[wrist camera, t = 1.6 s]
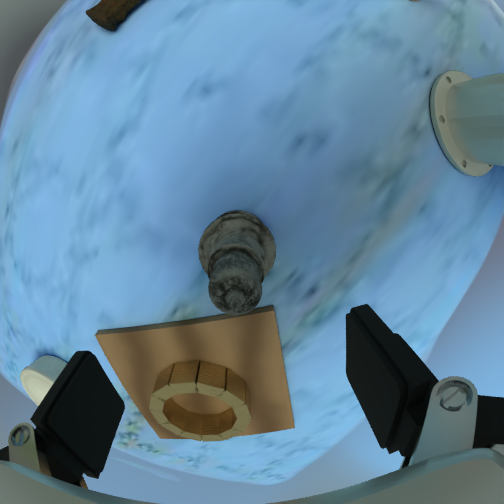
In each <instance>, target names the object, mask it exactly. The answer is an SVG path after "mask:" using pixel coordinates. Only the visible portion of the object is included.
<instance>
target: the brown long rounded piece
mask: <svg viewBox="0 0 504 504" xmlns="http://www.w3.org/2000/svg"><path fill="white" fill-rule="evenodd" d="M140 1H141V0H101V1H100V2H99V3H98V4H97V5H96V6H94V7H93V8H91V9H89V10H87V11H86V14H87V15H88V16H89V17H90V18H91V19H92V21H94V22H95V23H96V24H98V25H99V26H101V27H103V28H105V29H108V30H111V31H115V29H116V25H117V23H118V22H121V21H123V20H125V18H126V14H127V13H128V12H129V11H130V10H131V9H132V8H133V7H135V6H136V5H137V4H138V3H139V2H140Z"/></svg>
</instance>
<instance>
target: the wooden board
mask: <svg viewBox="0 0 504 504" xmlns="http://www.w3.org/2000/svg"><path fill="white" fill-rule="evenodd" d="M95 336H96V338H97V340H98V342H99V344H100V346H101V348H102V350H103V352H104V354H105V355H106V357H107V359H108V361H109V363H110V364H111V366H112V368H113V370H114V371H115V373H116V375H117V376H118V378H119V380H120V381H121V383H122V385H123V386H124V388H125V389H126V391H127V393H128V394H129V396H130V397H131V399H132V400H133V402H134V403H135V405H136V406H137V408H138V409H139V411H140V412H141V413H142V415H143V416H144V418H145V419H146V420H147V422H148V423H149V424H150V426H151V427H152V428H153V430H154V431H155V432H156V434H157V435H158V436H159V437H160V438H161V439H189V438H185V437H181V436H180V435H176V434H174V433H173V432H171V431H169V430H168V429H166V428H164V427H163V426H161V425H160V424H159V423H158V422H157V420H156V419H155V417H154V416H153V415H152V413H151V412H150V409H149V407H150V400H151V394H152V391H153V388H154V385H155V383H156V380H157V377H158V374H159V373H160V372H161V371H163V370H164V369H166V368H167V367H168V366H170V365H171V364H173V363H175V362H183V361H192V360H199V361H200V362H201V360H203V361H207V362H210V363H214V364H218V365H222V366H226V368H229V369H230V370H232V371H233V372H234V373H236V374H237V375H238V376H240V377H241V378H242V379H244V380H245V382H246V384H247V387H248V390H249V394H250V398H251V421H250V423H249V424H248V426H247V427H246V429H245V431H244V432H243V433H241V434H239V435H236V436H245V435H253V434H261V433H268V432H274V431H280V430H286V429H291V428H295V426H294V420H293V414H292V408H291V402H290V396H289V391H288V385H287V379H286V373H285V367H284V362H283V356H282V350H281V345H280V339H279V334H278V328H277V322H276V317H275V311H274V307H273V305H272V306H267V307H262V308H256V309H253V310H251V311H249V312H248V313H245V314H241V315H232V314H222V315H216V316H210V317H204V318H197V319H190V320H183V321H176V322H169V323H161V324H154V325H145V326H137V327H128V328H118V329H108V330H98V332H97V333H96V334H95ZM172 399H173V400H174V402H175V403H177V404H178V405H180V406H181V407H183V408H184V409H186V410H187V411H191V412H195V413H199V414H203V415H205V414H218V413H222V412H224V411H226V410H227V409H229V408H231V406H229V405H228V404H226V403H225V402H223V401H222V400H220V399H219V398H217V397H212V396H208V395H204V394H200V393H184V394H176V395H174V396H172ZM234 437H235V436H234Z"/></svg>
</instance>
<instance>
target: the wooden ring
mask: <svg viewBox="0 0 504 504" xmlns="http://www.w3.org/2000/svg"><path fill="white" fill-rule="evenodd" d="M184 393H200V394H204V395H208V396H212V397H217V398H219V399H220V400H222V401H223V402H225V403H226V404H228V405H229V406H231V408H229V409H227V410H226V411H224V412H222V413H218V414H205V415H203V414H199V413H195V412H191V411H187V410H186V409H184V408H183V407H181V406H180V405H178V404H177V403H175V402H174V400H173V399H172V396H174V395H176V394H184ZM149 409H150V412H151V413H152V415H153V416H154V417H155V419H156V420H157V422H158V423H159V424H160V425H161V426H163V427H164V428H166V429H168V430H169V431H171V432H173V433H174V434H176V435H180V436H181V437H185V438H189V439H193V440H197V441H201V440H202V441H222V440H224V439H225V440H227V439H229V438H232V437H234V436H236V435H239V434H241V433H243V432H244V431H245V429H246V427H247V426H248V424H249V423H250V421H251V398H250V394H249V390H248V387H247V384H246V382H245V380H244V379H242V378H241V377H240V376H238V375H237V374H236V373H234V372H233V371H232V370H230V369H229V368H226V366H222V365H218V364H214V363H210V362H207V361H203V360H201V362H200V361H199V360H192V361H183V362H175V363H173V364H171V365H170V366H168V367H167V368H166V369H164V370H163V371H161V372H160V373H159V374H158V377H157V380H156V383H155V385H154V388H153V391H152V394H151V400H150V407H149Z"/></svg>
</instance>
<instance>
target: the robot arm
mask: <svg viewBox="0 0 504 504" xmlns="http://www.w3.org/2000/svg"><path fill="white" fill-rule="evenodd" d="M430 109H431V117H432V123H433V126H434V130H435V134H436V136H437V139H438V141H439V144H440V146H441V148H442V150H443V152H444V154H445V155H446V156H447V158H448V159H449V161H450V162H451V163H452V164H453V165H454V166H455V168H456V169H458V170H459V171H461V172H462V173H464V174H466V175H470V176H483V175H485V174H487V173H488V172H489V171H490V170H491V169H492V167H493V166H494V165H498V166H504V73H500V74H494V75H490V76H485V77H480V78H476V79H473V78H471V77H470V76H468V75H467V74H465V73H463V72H460V71H454V70H453V71H448V72H446V73H443V74H441V75H440V76H439V77H438V78H437V79H436V80H435V82H434V84H433V87H432V90H431V98H430ZM346 374H347V378H348V380H349V382H350V384H351V387H352V389H353V391H354V393H355V395H356V397H357V399H358V401H359V403H360V405H361V407H362V409H363V411H364V413H365V415H366V418H367V420H368V421H369V424H370V425H371V428H372V430H373V432H374V434H375V436H376V439H377V441H378V443H379V445H380V447H381V448H383V449H384V448H387V450H388V452H389V454H391V453H393V452H396V451H398V450H399V452H400V454H401V456H404V459H403V461H402V464H401V467H400V469H399V470H397V471H394V472H391V473H388V474H386V475H383V476H380V477H377V478H374V479H371V480H368V481H365V482H362V483H360V484H356V485H353V486H350V487H346V488H343V489H339V490H336V491H332V492H328V493H324V494H319V495H314V496H310V497H305V498H300V499H295V500H290V501H283V502H276V503H269V504H504V398H502V397H491V396H481V395H478V394H477V389H476V388H475V386H474V384H473V383H472V382H471V381H469V380H467V379H465V378H463V377H457V376H455V377H454V376H452V377H447V378H444V379H442V380H441V381H438V380H437V378H436V377H435V376H434V375H433V373H432V372H431V371H430V370H429V369H428V367H427V366H426V365H425V364H424V363H423V361H422V360H421V359H420V358H419V357H418V356H417V354H416V353H415V352H414V351H413V350H412V349H411V347H410V346H409V345H408V344H407V343H406V342H405V341H404V339H403V338H402V337H401V336H400V335H399V334H397V333H393V332H392V331H391V330H390V329H389V328H388V326H387V325H386V324H385V323H384V322H383V321H382V320H381V318H380V317H379V316H378V315H377V314H376V313H375V312H374V311H373V309H372V308H371V307H370V306H369V305H368V304H364V305H361V306H357V307H354V308H351V310H350V313H348V314H346ZM124 409H125V405H124V402H123V400H122V399H121V397H120V396H119V394H118V393H117V391H116V389H115V388H114V386H113V385H112V383H111V382H110V380H109V378H108V377H107V375H106V373H105V372H104V370H103V368H102V366H101V365H100V363H99V361H98V359H97V358H96V356H95V355H94V354H92V353H91V352H90V351H77V352H76V353H75V354H74V355H73V356H72V358H71V359H70V361H69V362H68V363H67V365H66V366H65V368H64V369H63V370H62V372H61V373H60V375H59V376H58V378H57V379H56V380H55V382H54V383H53V385H52V386H51V388H50V389H49V391H48V392H47V394H46V395H45V397H44V398H43V400H42V402H41V403H40V405H39V406H38V408H37V409H36V411H35V413H34V414H33V416H32V418H31V419H30V420H31V421H32V422H33V423H34V424H35V425H36V429H34V428H33V427H32V426H31V424H29V423H20V424H18V425H17V426H15V427H14V428H13V430H12V431H11V432H10V435H9V440H8V443H9V446H7V447H5V448H3V449H1V450H0V504H157V503H149V502H142V501H137V500H131V499H126V498H121V497H116V496H112V495H107V494H103V493H100V492H96V491H92V490H89V489H88V487H87V485H86V483H85V480H84V478H83V476H82V475H83V473H84V474H86V475H87V476H89V477H93V478H97V479H98V478H99V475H100V473H101V472H102V471H103V469H104V466H105V463H106V460H107V457H108V454H109V451H110V448H111V445H112V442H113V440H114V437H115V434H116V431H117V428H118V426H119V423H120V420H121V417H122V415H123V412H124Z"/></svg>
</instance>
